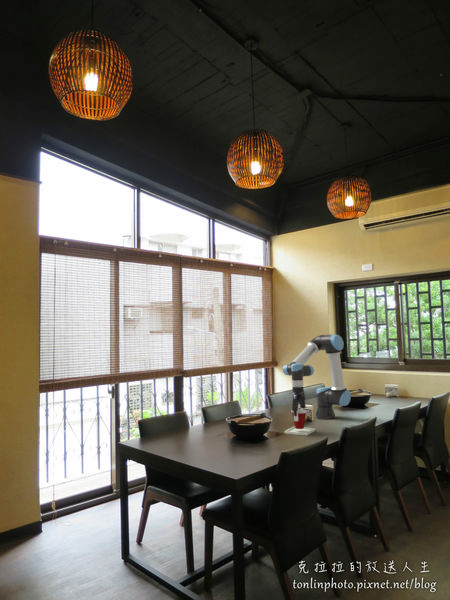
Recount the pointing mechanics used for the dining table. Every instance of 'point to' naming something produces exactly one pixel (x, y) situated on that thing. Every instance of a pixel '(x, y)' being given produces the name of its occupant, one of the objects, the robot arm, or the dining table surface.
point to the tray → (300, 431)
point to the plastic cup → (300, 418)
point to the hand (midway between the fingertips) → (299, 419)
